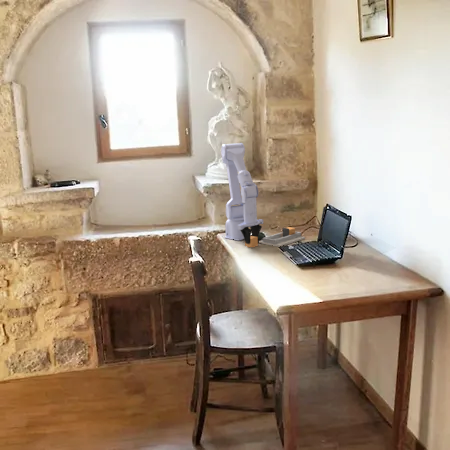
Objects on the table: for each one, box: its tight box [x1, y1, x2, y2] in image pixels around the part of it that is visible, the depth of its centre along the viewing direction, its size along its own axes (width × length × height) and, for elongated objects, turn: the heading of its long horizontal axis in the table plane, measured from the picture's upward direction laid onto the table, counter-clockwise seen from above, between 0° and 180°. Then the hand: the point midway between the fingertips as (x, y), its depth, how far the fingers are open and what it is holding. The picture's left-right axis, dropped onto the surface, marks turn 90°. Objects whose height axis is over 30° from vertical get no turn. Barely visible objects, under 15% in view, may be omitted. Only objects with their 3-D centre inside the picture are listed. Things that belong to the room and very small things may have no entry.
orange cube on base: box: [243, 235, 259, 248], centre depth 264 cm, size 4×5×4 cm
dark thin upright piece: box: [317, 206, 327, 243], centre depth 269 cm, size 2×24×15 cm, turn 163°
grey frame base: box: [258, 226, 306, 248], centre depth 270 cm, size 12×18×5 cm, turn 134°
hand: (251, 242), depth 264 cm, fingers closed on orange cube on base, 4 cm apart
